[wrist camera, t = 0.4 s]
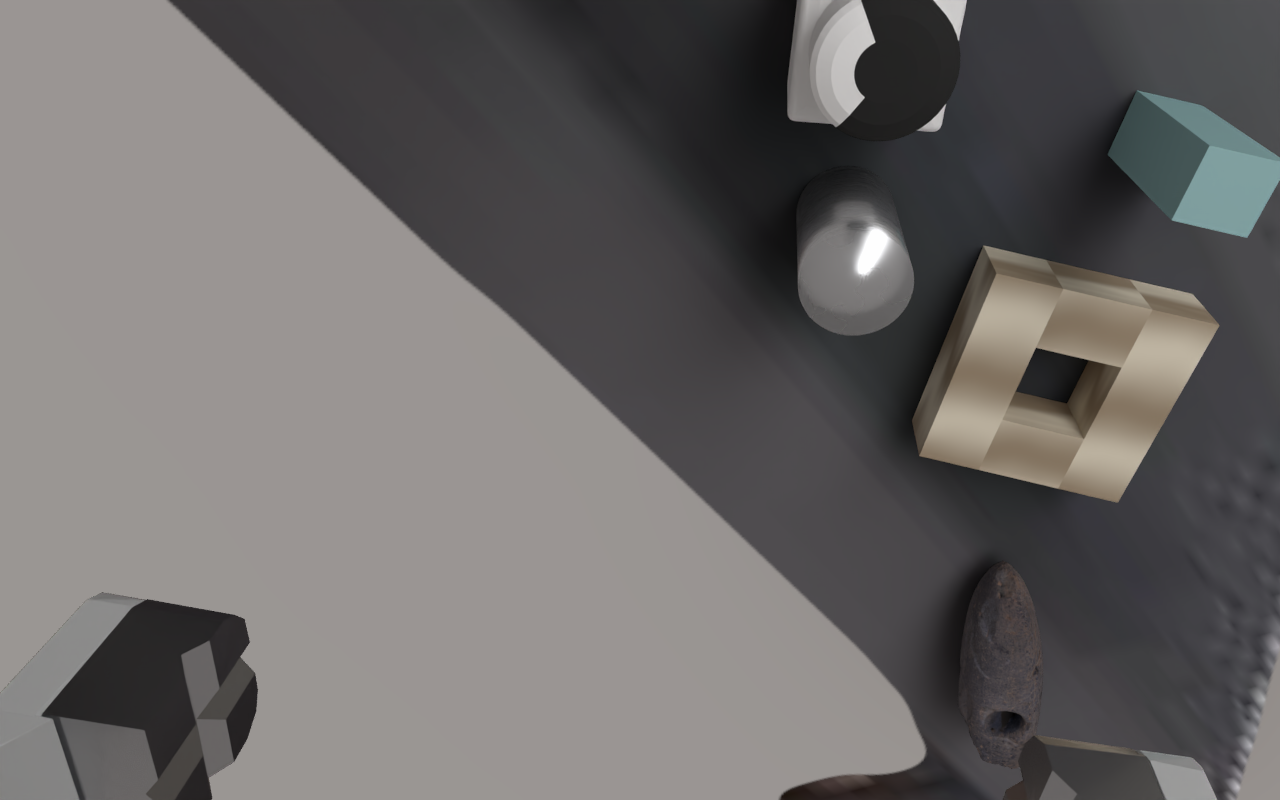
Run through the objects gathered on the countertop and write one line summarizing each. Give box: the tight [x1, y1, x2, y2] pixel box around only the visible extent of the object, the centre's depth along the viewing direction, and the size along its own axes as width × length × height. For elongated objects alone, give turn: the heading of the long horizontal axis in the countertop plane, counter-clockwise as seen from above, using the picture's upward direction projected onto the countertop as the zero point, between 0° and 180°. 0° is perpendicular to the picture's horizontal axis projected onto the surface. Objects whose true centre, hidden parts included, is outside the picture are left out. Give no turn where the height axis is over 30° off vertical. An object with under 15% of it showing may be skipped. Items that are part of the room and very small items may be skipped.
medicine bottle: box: [787, 0, 967, 141], centre depth 44 cm, size 7×7×12 cm
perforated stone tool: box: [958, 561, 1043, 769], centre depth 65 cm, size 15×5×7 cm, turn 6°
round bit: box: [796, 166, 914, 335], centre depth 50 cm, size 5×5×10 cm
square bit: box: [1108, 91, 1280, 238], centre depth 46 cm, size 3×3×10 cm
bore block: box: [912, 245, 1219, 502], centre depth 56 cm, size 12×12×4 cm
